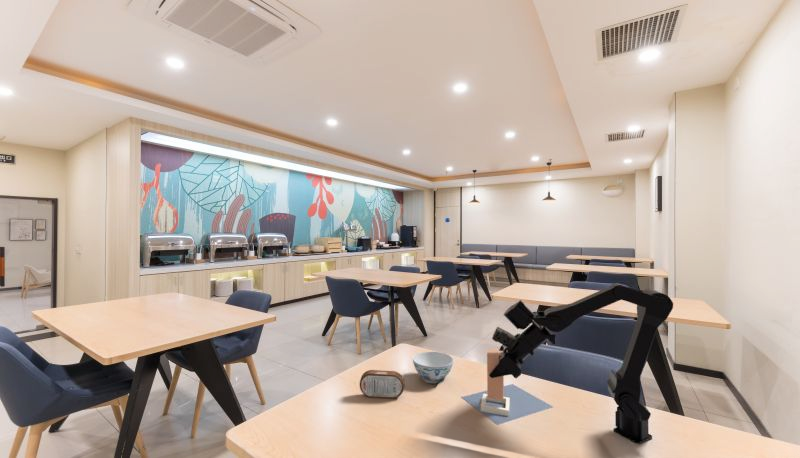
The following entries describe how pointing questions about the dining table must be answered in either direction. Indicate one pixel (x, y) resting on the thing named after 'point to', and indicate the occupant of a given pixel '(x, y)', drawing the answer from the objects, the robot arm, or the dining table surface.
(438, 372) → the chinaware
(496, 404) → the board
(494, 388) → the terracotta pillar
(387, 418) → the dining table surface
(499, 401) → the snap socket
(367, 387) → the tin
